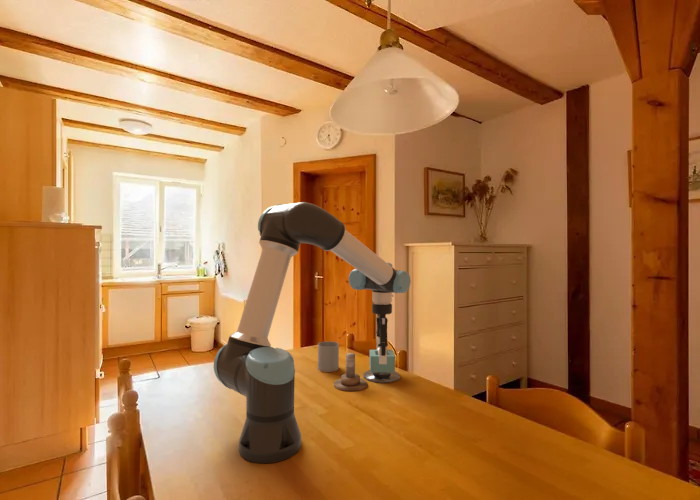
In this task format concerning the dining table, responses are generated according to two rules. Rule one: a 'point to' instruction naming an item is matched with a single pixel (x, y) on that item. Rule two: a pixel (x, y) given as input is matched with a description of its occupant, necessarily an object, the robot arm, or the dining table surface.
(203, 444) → the dining table surface
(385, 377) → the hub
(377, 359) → the teal square block
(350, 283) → the robot arm
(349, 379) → the stand
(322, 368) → the cup
